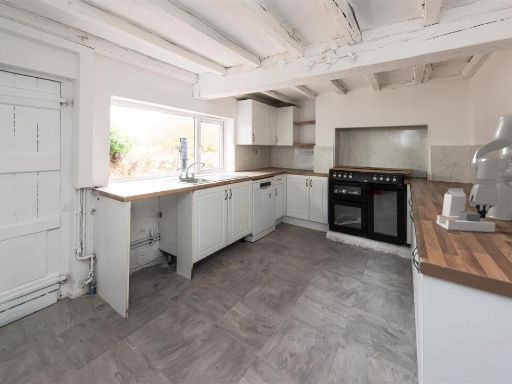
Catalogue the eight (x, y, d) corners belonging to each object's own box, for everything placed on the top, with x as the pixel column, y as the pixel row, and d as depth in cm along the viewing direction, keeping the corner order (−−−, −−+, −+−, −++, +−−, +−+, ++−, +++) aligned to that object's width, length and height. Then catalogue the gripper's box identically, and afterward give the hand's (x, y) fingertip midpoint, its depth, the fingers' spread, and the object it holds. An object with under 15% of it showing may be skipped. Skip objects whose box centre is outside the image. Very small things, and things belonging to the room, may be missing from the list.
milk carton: (462, 222, 134) (467, 189, 131) (448, 222, 135) (452, 189, 132) (455, 219, 141) (459, 187, 137) (441, 218, 142) (445, 187, 139)
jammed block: (471, 224, 127) (473, 211, 126) (478, 227, 121) (480, 214, 120) (458, 223, 128) (460, 211, 127) (465, 226, 123) (466, 213, 122)
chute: (478, 225, 129) (479, 216, 128) (494, 232, 118) (496, 222, 117) (436, 223, 134) (437, 214, 133) (448, 229, 122) (449, 220, 121)
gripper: (498, 182, 122) (492, 216, 125) (464, 181, 125) (459, 215, 128) (510, 183, 115) (504, 220, 118) (473, 183, 118) (468, 218, 121)
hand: (480, 217), depth 123 cm, fingers closed
